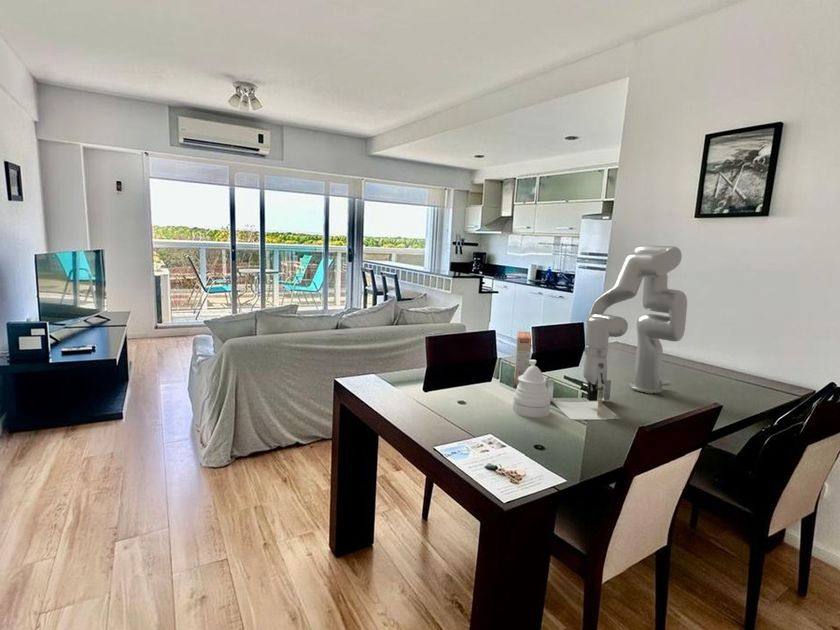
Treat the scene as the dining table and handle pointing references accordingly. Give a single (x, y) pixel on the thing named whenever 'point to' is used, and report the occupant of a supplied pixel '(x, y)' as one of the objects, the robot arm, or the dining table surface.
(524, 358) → the cracker box
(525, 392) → the honey pot
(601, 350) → the robot arm
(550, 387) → the gate frame
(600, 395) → the gate
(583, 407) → the mat
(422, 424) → the dining table surface
